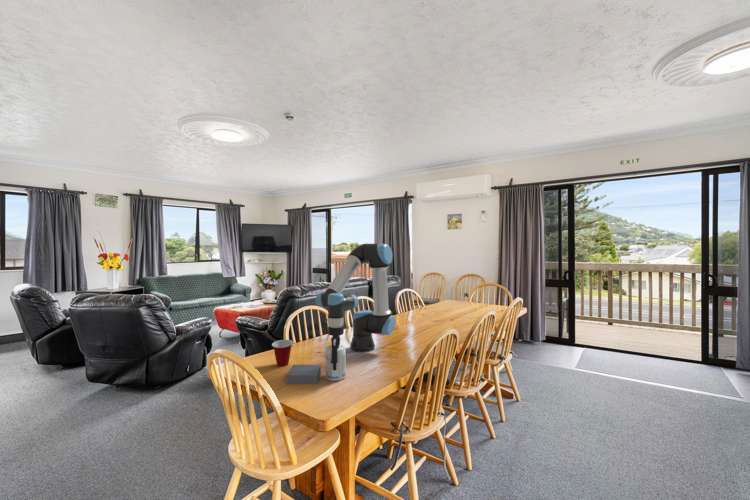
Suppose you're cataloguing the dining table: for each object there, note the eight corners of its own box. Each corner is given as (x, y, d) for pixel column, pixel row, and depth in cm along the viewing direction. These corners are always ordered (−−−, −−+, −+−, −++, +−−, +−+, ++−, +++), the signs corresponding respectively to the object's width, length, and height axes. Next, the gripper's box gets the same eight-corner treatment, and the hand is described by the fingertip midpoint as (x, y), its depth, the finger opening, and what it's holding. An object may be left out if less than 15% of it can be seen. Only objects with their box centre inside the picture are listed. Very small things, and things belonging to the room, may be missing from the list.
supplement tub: (338, 372, 172) (338, 343, 172) (349, 378, 165) (349, 347, 165) (321, 377, 166) (321, 346, 166) (332, 383, 159) (332, 351, 158)
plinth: (321, 372, 172) (321, 364, 172) (316, 383, 158) (316, 375, 158) (293, 372, 172) (293, 364, 172) (286, 383, 158) (286, 375, 158)
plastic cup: (267, 367, 180) (267, 344, 179) (279, 360, 190) (279, 338, 190) (285, 369, 176) (285, 346, 176) (296, 362, 186) (296, 340, 186)
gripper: (330, 320, 176) (330, 364, 176) (325, 331, 154) (325, 381, 154) (345, 320, 176) (345, 364, 177) (341, 331, 154) (341, 381, 154)
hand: (335, 372), depth 165 cm, fingers closed on supplement tub, 9 cm apart
